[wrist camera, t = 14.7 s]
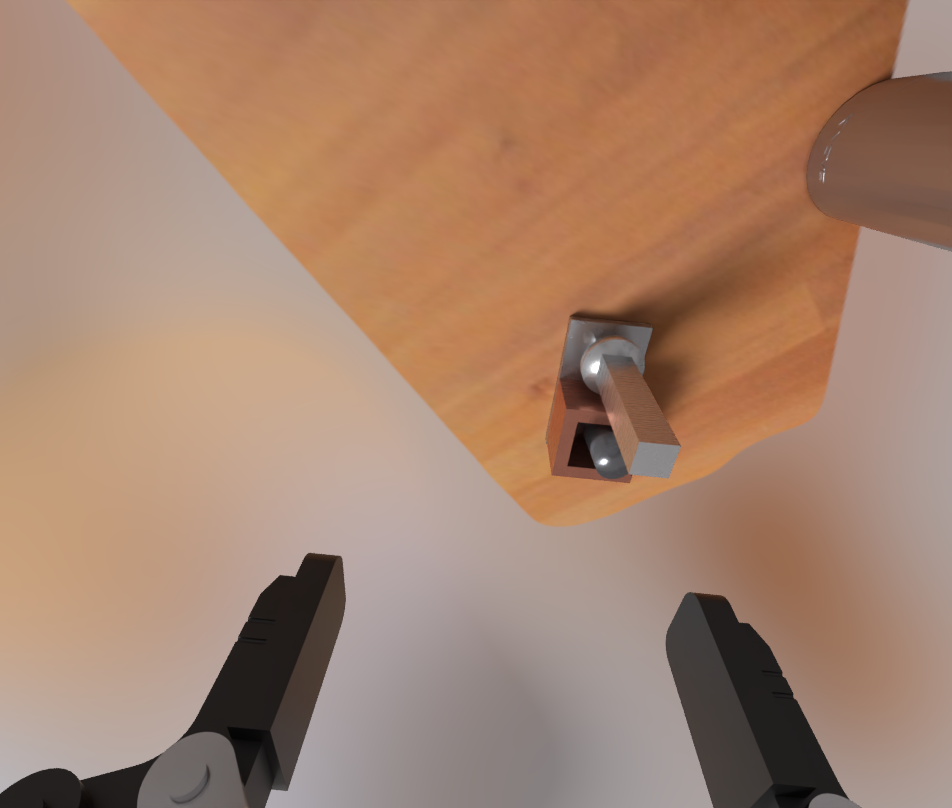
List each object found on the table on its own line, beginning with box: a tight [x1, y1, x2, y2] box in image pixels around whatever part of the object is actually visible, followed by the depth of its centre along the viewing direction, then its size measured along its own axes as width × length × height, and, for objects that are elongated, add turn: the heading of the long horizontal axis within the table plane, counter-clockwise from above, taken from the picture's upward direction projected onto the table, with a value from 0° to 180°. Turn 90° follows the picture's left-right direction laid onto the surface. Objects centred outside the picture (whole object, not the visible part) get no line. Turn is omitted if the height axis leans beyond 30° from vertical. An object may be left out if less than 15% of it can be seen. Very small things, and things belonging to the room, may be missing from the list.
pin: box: [579, 422, 628, 479], centre depth 42 cm, size 3×3×8 cm
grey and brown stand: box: [546, 316, 681, 483], centre depth 38 cm, size 7×13×17 cm, turn 175°
